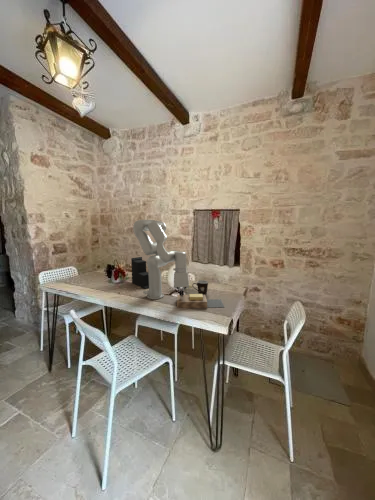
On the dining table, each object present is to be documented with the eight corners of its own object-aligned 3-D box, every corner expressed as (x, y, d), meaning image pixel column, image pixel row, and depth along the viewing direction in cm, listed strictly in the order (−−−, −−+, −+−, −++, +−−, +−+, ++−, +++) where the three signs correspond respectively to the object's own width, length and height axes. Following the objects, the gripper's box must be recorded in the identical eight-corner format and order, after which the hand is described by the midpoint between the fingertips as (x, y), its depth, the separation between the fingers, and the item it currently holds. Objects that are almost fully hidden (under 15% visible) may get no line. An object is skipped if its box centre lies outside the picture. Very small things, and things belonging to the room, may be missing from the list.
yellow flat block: (189, 299, 148) (189, 297, 148) (189, 296, 154) (189, 293, 154) (202, 299, 148) (202, 296, 148) (202, 296, 154) (202, 293, 154)
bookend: (155, 286, 190) (155, 260, 187) (144, 289, 183) (143, 261, 179) (142, 281, 207) (141, 256, 204) (131, 283, 200) (130, 258, 197)
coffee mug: (209, 293, 172) (210, 281, 171) (204, 296, 165) (204, 284, 164) (197, 291, 178) (197, 279, 177) (191, 294, 171) (191, 281, 170)
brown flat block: (177, 307, 145) (177, 302, 144) (177, 300, 158) (177, 294, 158) (207, 307, 145) (207, 301, 144) (205, 299, 159) (205, 294, 158)
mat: (207, 307, 145) (207, 307, 145) (205, 299, 159) (205, 299, 159) (224, 307, 145) (224, 307, 145) (220, 299, 159) (220, 299, 159)
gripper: (169, 271, 144) (170, 298, 146) (192, 270, 144) (192, 297, 147) (170, 269, 152) (171, 294, 154) (191, 268, 152) (192, 293, 154)
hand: (181, 295), depth 150 cm, fingers closed
